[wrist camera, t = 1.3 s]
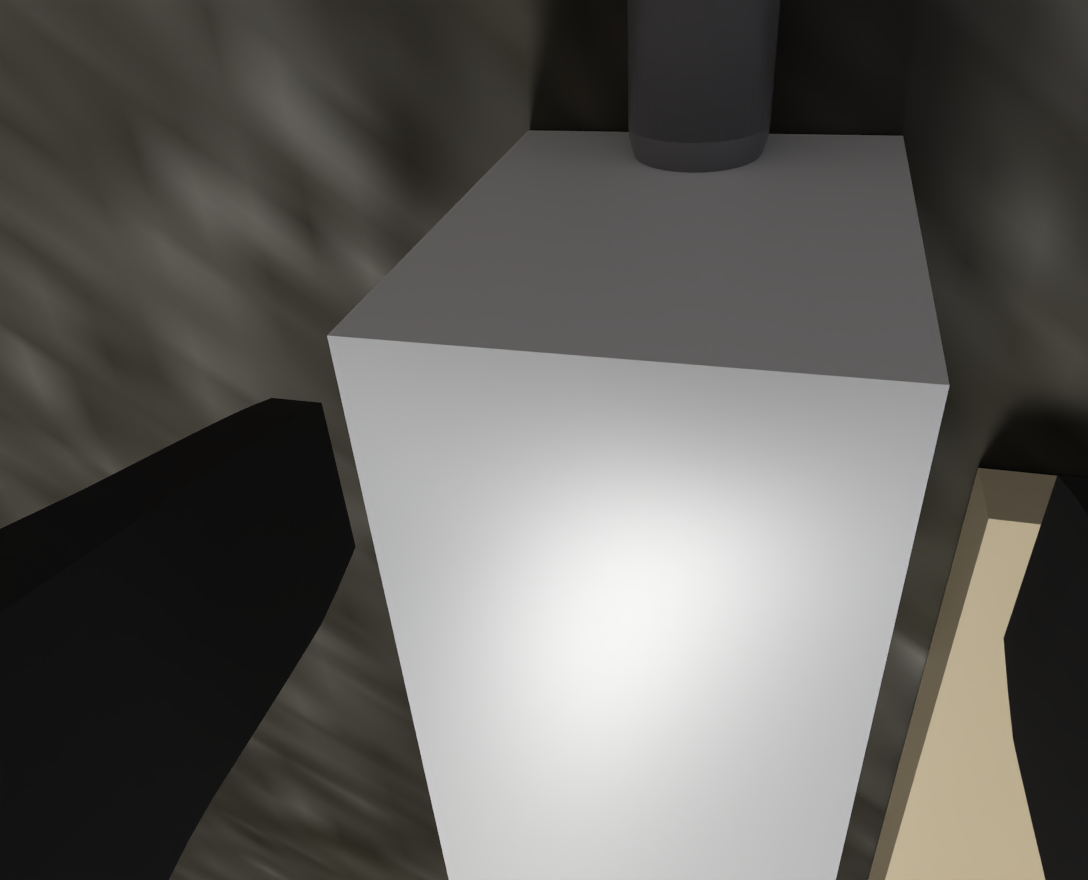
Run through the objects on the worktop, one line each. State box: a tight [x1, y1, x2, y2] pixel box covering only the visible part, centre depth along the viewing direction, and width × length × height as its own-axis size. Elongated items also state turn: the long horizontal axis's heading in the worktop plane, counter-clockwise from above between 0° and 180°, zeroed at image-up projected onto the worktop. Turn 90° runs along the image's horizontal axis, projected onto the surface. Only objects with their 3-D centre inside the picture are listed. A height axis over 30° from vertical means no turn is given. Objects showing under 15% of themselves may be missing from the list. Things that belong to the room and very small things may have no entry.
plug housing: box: [327, 0, 949, 880], centre depth 8 cm, size 4×14×5 cm, turn 3°
